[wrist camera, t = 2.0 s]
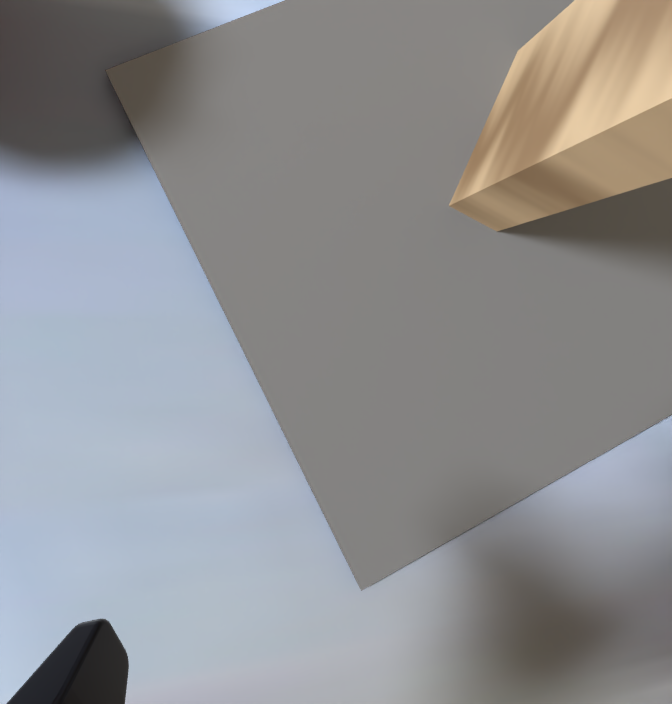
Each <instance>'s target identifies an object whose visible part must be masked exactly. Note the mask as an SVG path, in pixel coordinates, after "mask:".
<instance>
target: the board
mask: <svg viewBox="0 0 672 704" xmlns="http://www.w3.org/2000/svg"><path fill="white" fill-rule="evenodd" d="M670 178H672V0H574V1H573V2H572V3H571V4H570V5H569V6H568V7H567V8H565V9H564V10H563V11H562V12H561V13H560V14H559V15H558V16H556V17H555V18H554V19H553V20H552V21H551V22H550V23H549V24H547V25H546V26H545V27H544V28H543V29H542V30H541V31H540V32H539V33H537V34H536V35H535V36H534V37H533V38H532V39H531V40H530V41H528V42H527V43H526V44H525V45H524V46H523V47H522V48H521V49H519V50H518V51H517V54H516V56H515V58H514V60H513V63H512V65H511V67H510V69H509V72H508V74H507V76H506V78H505V81H504V83H503V85H502V87H501V90H500V92H499V94H498V96H497V99H496V101H495V103H494V105H493V108H492V110H491V112H490V114H489V117H488V119H487V121H486V123H485V126H484V128H483V130H482V132H481V135H480V137H479V139H478V141H477V143H476V146H475V148H474V150H473V152H472V155H471V157H470V159H469V161H468V164H467V166H466V168H465V170H464V173H463V175H462V177H461V179H460V182H459V184H458V186H457V188H456V191H455V193H454V195H453V197H452V200H451V202H450V204H449V206H450V207H452V208H454V209H455V210H457V211H459V212H461V213H463V214H465V215H467V216H469V217H470V218H472V219H474V220H476V221H478V222H480V223H482V224H484V225H485V226H487V227H489V228H491V229H493V230H495V231H500V230H503V229H507V228H510V227H513V226H516V225H520V224H523V223H526V222H529V221H533V220H536V219H539V218H543V217H546V216H549V215H552V214H556V213H559V212H562V211H565V210H569V209H572V208H575V207H578V206H582V205H585V204H588V203H591V202H595V201H598V200H601V199H604V198H608V197H611V196H614V195H617V194H621V193H624V192H627V191H630V190H634V189H637V188H640V187H643V186H647V185H650V184H653V183H657V182H660V181H663V180H666V179H670Z"/></svg>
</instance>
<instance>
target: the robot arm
mask: <svg viewBox="0 0 672 704" xmlns="http://www.w3.org/2000/svg"><path fill="white" fill-rule="evenodd" d="M128 669H129V663H128V656H127V653H126V650H125V649H124V647H123V645H122V643H121V642H120V640H119V638H118V636H117V635H116V633H115V631H114V629H113V627H112V626H111V624H110V623H109V621H107V620H106V619H97V620H92V621H87V622H82V623H80V624H78V625H77V626H75V627H74V628H73V629H72V630H71V632H70V633H69V634H68V635H67V636H66V637H65V638H64V639H63V641H62V642H61V643H60V644H59V645H58V646H57V647H56V648H55V650H54V651H53V652H52V653H51V654H50V655H49V656H48V658H47V659H46V660H45V661H44V662H43V663H42V664H41V665H40V667H39V668H38V669H37V670H36V671H35V672H34V673H33V674H32V676H31V677H30V678H29V679H28V680H27V681H26V682H25V683H24V685H23V686H22V687H21V688H20V689H19V690H18V691H17V692H16V694H15V695H14V696H13V697H12V698H11V699H10V700H9V701H8V703H7V704H125V697H126V688H127V678H128Z"/></svg>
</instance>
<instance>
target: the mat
mask: <svg viewBox="0 0 672 704" xmlns="http://www.w3.org/2000/svg"><path fill="white" fill-rule="evenodd" d="M573 1H574V0H285V1H282V2H280V3H277V4H275V5H272V6H269V7H267V8H264V9H262V10H259V11H256V12H254V13H251V14H249V15H246V16H244V17H241V18H238V19H236V20H233V21H231V22H228V23H226V24H223V25H220V26H218V27H215V28H213V29H210V30H207V31H205V32H202V33H200V34H197V35H195V36H192V37H189V38H187V39H184V40H182V41H179V42H176V43H174V44H171V45H169V46H166V47H164V48H161V49H158V50H156V51H153V52H151V53H148V54H146V55H143V56H140V57H138V58H135V59H133V60H130V61H127V62H125V63H122V64H120V65H117V66H115V67H112V68H109V69H107V70H105V71H106V73H107V75H108V77H109V80H110V82H111V84H112V86H113V88H114V90H115V92H116V94H117V96H118V98H119V100H120V102H121V104H122V106H123V108H124V110H125V112H126V114H127V116H128V118H129V120H130V122H131V124H132V126H133V128H134V130H135V132H136V134H137V136H138V138H139V140H140V142H141V144H142V147H143V149H144V151H145V153H146V155H147V157H148V159H149V161H150V163H151V165H152V167H153V169H154V171H155V173H156V175H157V177H158V179H159V181H160V183H161V185H162V187H163V189H164V191H165V193H166V195H167V197H168V199H169V201H170V203H171V205H172V207H173V209H174V212H175V214H176V216H177V218H178V220H179V222H180V224H181V226H182V228H183V230H184V232H185V234H186V236H187V238H188V240H189V242H190V244H191V246H192V248H193V250H194V252H195V254H196V256H197V258H198V260H199V262H200V264H201V266H202V268H203V270H204V272H205V274H206V276H207V279H208V281H209V283H210V285H211V287H212V289H213V291H214V293H215V295H216V297H217V299H218V301H219V303H220V305H221V307H222V309H223V311H224V313H225V315H226V317H227V319H228V321H229V323H230V325H231V327H232V329H233V331H234V333H235V335H236V337H237V339H238V341H239V343H240V346H241V348H242V350H243V352H244V354H245V356H246V358H247V360H248V362H249V364H250V366H251V368H252V370H253V372H254V374H255V376H256V378H257V380H258V382H259V384H260V386H261V388H262V390H263V392H264V394H265V396H266V398H267V400H268V402H269V404H270V406H271V408H272V411H273V413H274V415H275V417H276V419H277V421H278V423H279V425H280V427H281V429H282V431H283V433H284V435H285V437H286V439H287V441H288V443H289V445H290V447H291V449H292V451H293V453H294V455H295V457H296V459H297V461H298V463H299V465H300V467H301V469H302V471H303V473H304V475H305V478H306V480H307V482H308V484H309V486H310V488H311V490H312V492H313V494H314V496H315V498H316V500H317V502H318V504H319V506H320V508H321V510H322V512H323V514H324V516H325V518H326V520H327V522H328V524H329V526H330V528H331V530H332V532H333V534H334V536H335V538H336V540H337V542H338V545H339V547H340V549H341V551H342V553H343V555H344V557H345V559H346V561H347V563H348V565H349V567H350V569H351V571H352V573H353V575H354V577H355V579H356V581H357V583H358V585H359V587H360V589H361V591H362V590H363V589H365V588H367V587H369V586H370V585H372V584H374V583H376V582H377V581H379V580H381V579H383V578H385V577H386V576H388V575H390V574H392V573H393V572H395V571H397V570H399V569H400V568H402V567H404V566H406V565H407V564H409V563H411V562H413V561H414V560H416V559H418V558H420V557H422V556H423V555H425V554H427V553H429V552H430V551H432V550H434V549H436V548H437V547H439V546H441V545H443V544H444V543H446V542H448V541H450V540H451V539H453V538H455V537H457V536H459V535H460V534H462V533H464V532H466V531H467V530H469V529H471V528H473V527H474V526H476V525H478V524H480V523H481V522H483V521H485V520H487V519H489V518H490V517H492V516H494V515H496V514H497V513H499V512H501V511H503V510H504V509H506V508H508V507H510V506H511V505H513V504H515V503H517V502H518V501H520V500H522V499H524V498H526V497H527V496H529V495H531V494H533V493H534V492H536V491H538V490H540V489H541V488H543V487H545V486H547V485H548V484H550V483H552V482H554V481H555V480H557V479H559V478H561V477H563V476H564V475H566V474H568V473H570V472H571V471H573V470H575V469H577V468H578V467H580V466H582V465H584V464H585V463H587V462H589V461H591V460H593V459H594V458H596V457H598V456H600V455H601V454H603V453H605V452H607V451H608V450H610V449H612V448H614V447H615V446H617V445H619V444H621V443H622V442H624V441H626V440H628V439H630V438H631V437H633V436H635V435H637V434H638V433H640V432H642V431H644V430H645V429H647V428H649V427H651V426H652V425H654V424H656V423H658V422H660V421H661V420H663V419H665V418H667V417H668V416H670V415H672V178H670V179H666V180H663V181H660V182H657V183H653V184H650V185H647V186H643V187H640V188H637V189H634V190H630V191H627V192H624V193H621V194H617V195H614V196H611V197H608V198H604V199H601V200H598V201H595V202H591V203H588V204H585V205H582V206H578V207H575V208H572V209H569V210H565V211H562V212H559V213H556V214H552V215H549V216H546V217H543V218H539V219H536V220H533V221H529V222H526V223H523V224H520V225H516V226H513V227H510V228H507V229H503V230H500V231H495V230H493V229H491V228H489V227H487V226H485V225H484V224H482V223H480V222H478V221H476V220H474V219H472V218H470V217H469V216H467V215H465V214H463V213H461V212H459V211H457V210H455V209H454V208H452V207H450V206H449V204H450V202H451V200H452V197H453V195H454V193H455V191H456V188H457V186H458V184H459V182H460V179H461V177H462V175H463V173H464V170H465V168H466V166H467V164H468V161H469V159H470V157H471V155H472V152H473V150H474V148H475V146H476V143H477V141H478V139H479V137H480V135H481V132H482V130H483V128H484V126H485V123H486V121H487V119H488V117H489V114H490V112H491V110H492V108H493V105H494V103H495V101H496V99H497V96H498V94H499V92H500V90H501V87H502V85H503V83H504V81H505V78H506V76H507V74H508V72H509V69H510V67H511V65H512V63H513V60H514V58H515V56H516V54H517V51H518V50H519V49H521V48H522V47H523V46H524V45H525V44H526V43H527V42H528V41H530V40H531V39H532V38H533V37H534V36H535V35H536V34H537V33H539V32H540V31H541V30H542V29H543V28H544V27H545V26H546V25H547V24H549V23H550V22H551V21H552V20H553V19H554V18H555V17H556V16H558V15H559V14H560V13H561V12H562V11H563V10H564V9H565V8H567V7H568V6H569V5H570V4H571V3H572V2H573Z"/></svg>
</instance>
